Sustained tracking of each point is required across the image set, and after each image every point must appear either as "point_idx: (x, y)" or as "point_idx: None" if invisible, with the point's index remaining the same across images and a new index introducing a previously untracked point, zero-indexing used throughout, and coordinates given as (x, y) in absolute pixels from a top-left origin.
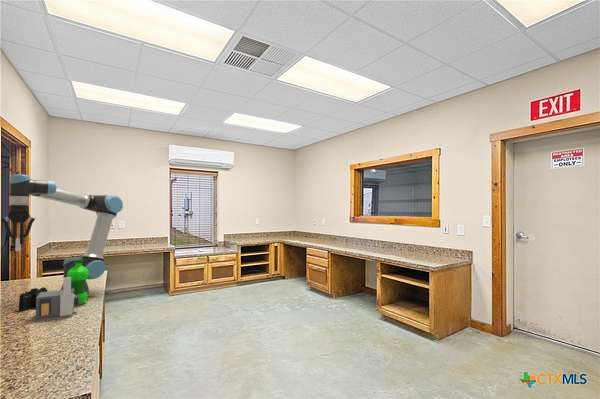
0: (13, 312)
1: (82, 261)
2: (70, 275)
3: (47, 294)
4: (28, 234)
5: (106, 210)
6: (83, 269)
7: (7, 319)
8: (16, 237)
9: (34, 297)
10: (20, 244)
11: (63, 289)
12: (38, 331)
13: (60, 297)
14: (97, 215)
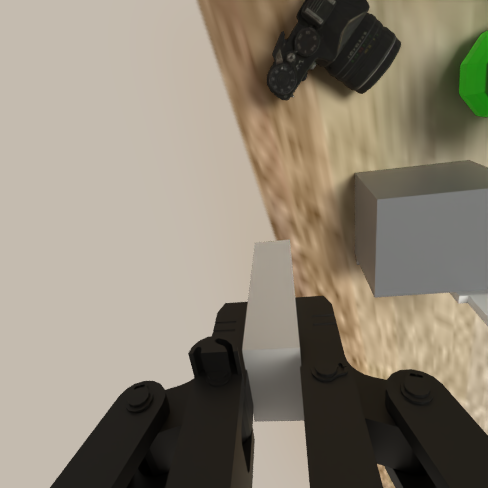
0: (254, 98)
1: None
2: None
3: (410, 258)
4: (454, 408)
5: None
6: None
7: (265, 193)
8: (248, 394)
9: (324, 61)
10: (293, 283)
11: (482, 318)
12: (375, 342)
13: (455, 298)
14: None
